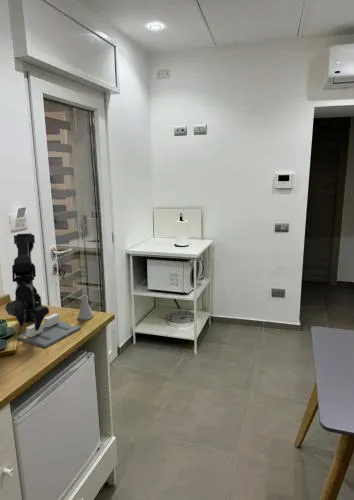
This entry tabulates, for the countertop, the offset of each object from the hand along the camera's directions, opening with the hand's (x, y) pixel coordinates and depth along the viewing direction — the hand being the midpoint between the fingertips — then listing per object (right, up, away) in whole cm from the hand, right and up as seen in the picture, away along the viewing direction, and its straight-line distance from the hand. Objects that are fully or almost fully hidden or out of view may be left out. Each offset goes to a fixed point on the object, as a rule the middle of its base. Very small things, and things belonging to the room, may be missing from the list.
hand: (29, 328), depth 148 cm
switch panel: (+8, -3, +2) cm, 8 cm away
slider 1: (+3, -2, -1) cm, 4 cm away
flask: (+18, +1, +19) cm, 26 cm away
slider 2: (+7, 0, +8) cm, 10 cm away
